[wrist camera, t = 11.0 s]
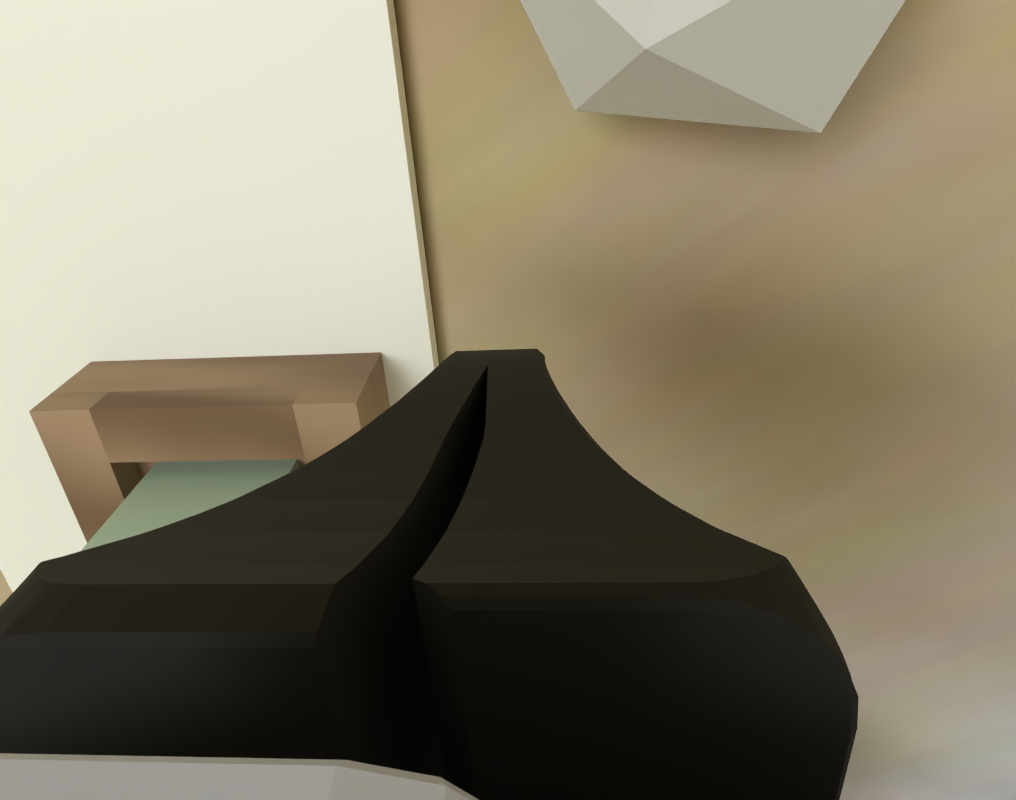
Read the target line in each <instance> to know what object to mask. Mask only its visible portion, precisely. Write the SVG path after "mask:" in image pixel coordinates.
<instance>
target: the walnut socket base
mask: <svg viewBox="0 0 1016 800" xmlns="http://www.w3.org/2000/svg"><path fill="white" fill-rule="evenodd" d="M388 408H390V403H389V397H388V390H387V384H386V378H385V372H384V366H383V360H382V354H381V352H375V353H344V354H313V355H282V356H251V357H220V358H189V359H157V360H126V361H95V362H90V363H89V364H88V365H86V366H85V367H84V368H83V369H81V370H80V371H79V372H77V373H76V374H75V375H74V376H72V377H71V378H70V379H69V380H67V381H66V382H65V383H64V384H62V385H61V386H60V387H59V388H57V389H56V390H55V391H54V392H52V393H51V394H50V395H49V396H47V397H46V398H45V399H44V400H42V401H41V402H40V403H39V404H37V405H36V406H35V407H34V408H32V409H31V410H30V411H29V413H30V415H31V417H32V419H33V422H34V424H35V426H36V428H37V431H38V433H39V435H40V437H41V440H42V442H43V444H44V446H45V449H46V451H47V453H48V456H49V458H50V460H51V462H52V465H53V467H54V469H55V471H56V474H57V476H58V478H59V480H60V483H61V485H62V487H63V489H64V492H65V494H66V496H67V499H68V501H69V503H70V505H71V508H72V510H73V512H74V514H75V517H76V519H77V521H78V523H79V526H80V528H81V530H82V532H83V535H84V537H85V539H86V542H87V543H88V542H89V541H90V539H91V538H92V537H93V536H94V535H95V534H96V532H97V531H98V530H99V529H100V528H101V527H102V525H103V524H104V523H105V522H106V521H107V520H108V518H109V517H110V516H111V515H112V514H113V512H114V511H115V510H116V509H117V508H118V507H119V505H120V504H121V503H122V502H123V501H124V500H125V498H126V497H127V496H128V495H129V494H130V493H131V491H132V490H133V489H134V488H135V487H136V486H137V484H138V483H139V482H140V481H141V480H142V478H143V477H144V476H145V475H146V474H147V473H148V471H149V470H150V469H151V468H152V467H153V466H154V464H155V463H156V462H168V461H221V460H273V459H298V462H299V466H300V467H302V466H304V465H305V464H307V463H309V462H311V461H312V460H314V459H316V458H317V457H319V456H321V455H323V454H324V453H326V452H328V451H329V450H331V449H333V448H334V447H336V446H337V445H339V444H340V443H342V442H343V441H345V440H346V439H348V438H349V437H351V436H352V435H354V434H355V433H357V432H358V431H359V430H361V429H362V428H363V427H365V426H366V425H367V424H369V423H370V422H371V421H373V420H374V419H375V418H376V417H378V416H379V415H380V414H382V413H383V412H384V411H386V410H387V409H388Z"/></svg>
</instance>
